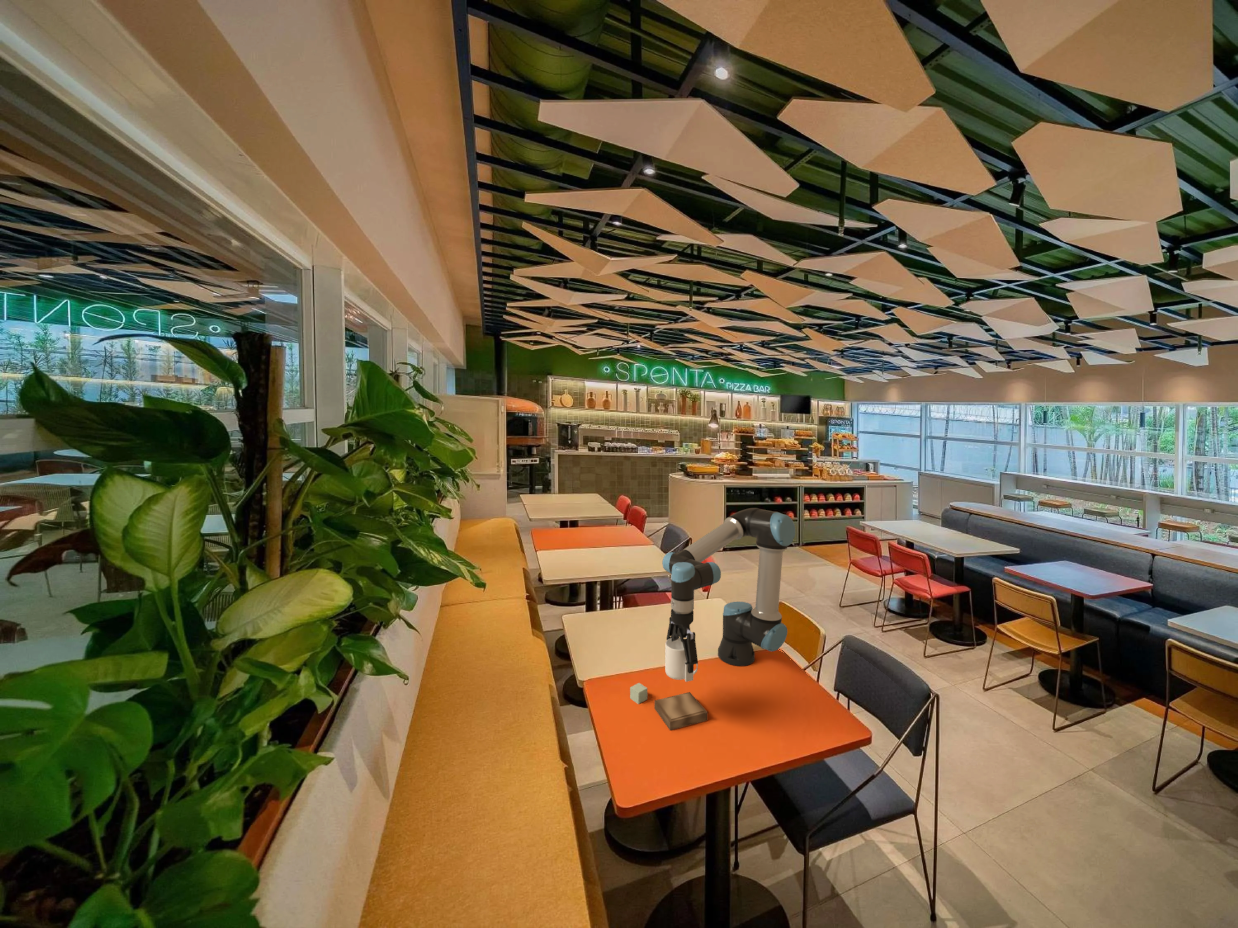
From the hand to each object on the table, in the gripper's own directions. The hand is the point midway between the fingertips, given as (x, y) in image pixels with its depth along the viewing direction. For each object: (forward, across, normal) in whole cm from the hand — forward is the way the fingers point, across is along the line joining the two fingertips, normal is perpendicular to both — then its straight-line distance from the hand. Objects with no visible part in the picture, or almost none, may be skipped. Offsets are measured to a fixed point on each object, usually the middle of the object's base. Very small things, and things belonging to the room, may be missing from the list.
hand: (681, 671), depth 158 cm
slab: (+16, 0, 0) cm, 16 cm away
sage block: (+16, -13, -10) cm, 23 cm away
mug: (+1, +1, 0) cm, 1 cm away
